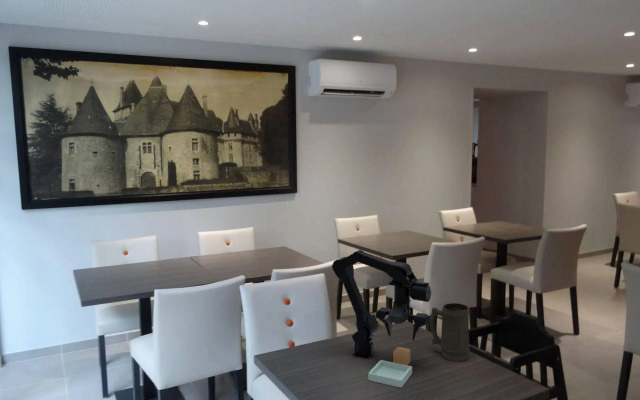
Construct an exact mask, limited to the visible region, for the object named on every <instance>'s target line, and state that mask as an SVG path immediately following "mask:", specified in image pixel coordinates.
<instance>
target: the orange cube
mask: <svg viewBox="0 0 640 400" xmlns="http://www.w3.org/2000/svg"><path fill="white" fill-rule="evenodd" d="M392 353H393V354H392V356H393V357H392V358H393V360H392V362H393V363H398V364H403V365H407V366H409V364H410V363H411V348H406V347H400V346H397V347H396V348H395V349H394V350H393V352H392Z"/></svg>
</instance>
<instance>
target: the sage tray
mask: <svg viewBox="0 0 640 400" xmlns="http://www.w3.org/2000/svg"><path fill="white" fill-rule="evenodd" d="M367 374H368V375H367V380H368V381H369V382H374V383H378V384H379V383H380V384H383V385H388V386H393V387H397V388H401V389H402V388H403V386H404V385H405V384H406V382H407V381H408V379H409V378H410V377H411V375H412V374H413V366H412V365H403V364H398V363H393V361H387V360H383V359H380V360H379V361H378V362H377V363H376V364H375V365H374V367H373V368H372V369H370V371H369V372H368V373H367Z"/></svg>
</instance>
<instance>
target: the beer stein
mask: <svg viewBox="0 0 640 400" xmlns="http://www.w3.org/2000/svg"><path fill="white" fill-rule="evenodd" d="M469 314H470V309H469V307H468V306H467V305H465V304H463V303H456V302H451V303H450V302H449V303H445V304H443V305H442V309H441V310H440V309H439V308H437V307H431V314H430V317H429V321H428V323H429V329H430V331H431V334H432V337H433V338H432V340H431V343H432V345H440V348H441V351H440V355H441V357H442V358H444V359H446V360H448V361H453V362H463V361H468V360H469V359H470V356H471V355H470V337H469V336H470V332H469ZM437 316H441V318H442V319H441V337H440V338H439V336H438V333H437V329H436V317H437Z"/></svg>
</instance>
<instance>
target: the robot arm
mask: <svg viewBox="0 0 640 400" xmlns="http://www.w3.org/2000/svg"><path fill="white" fill-rule="evenodd" d="M358 263H360V264H361V265H364V266H368V267H371V268H373V269H376V270H377V271H378V270H379V271H381V272H383V273H385V274H386V275H388V277H390V278H392V279H391V281H390V282H388V285H390V286H393V287H394V289H393V293H394V294H393V295H394V296H393V298H394V299H393V303H392V307H391V308H389V307H383V306H381V307H380V308H379V309H378V310H377V311H375V313H373V314H371V313H370V312H369V311H368V309H367V307H366V304H365V302H364V299H363V297H362V294H361V292H360V290H359V287H358V284H357V282H356V280H355V269H354V268H355V267H354V265H356V264H358ZM331 268H332V271H333V272H334V274H335V276H336V277H337V278H338V279H339V280H340V282H342V284H343V286H344V290H345V292H346V295H347V297H348V299H349V302H350V304H351V307H352V309H353V311H354V314H355V317H356V318H355V319H356V320H355V326H356V329H357V331H355V332H354V333H353V334H352V335H351V338H352V341H353V342H354V352H353V353H352V356H356V357H360V358H366V359H369V358H370V357H371V356H372V355H373V353H374V352H375V351H374V342H373V338H372V337H374V335H375V334H376V333H377V332H378V329H379V321H380V322H382V323H383V325H384V327H385V329H386V332H387V334H388V337H390V338H391V337H392V324H393V323H395V324H398V325H401V324H403V323H404V322H405V321H413V325H412V327H413V328H412V329H413V331H412V341H413V342H414V341H415V340H416V337H417V335H418V332H419V330H420V328H422V327H424V326H426V325H427V324H428V323H429V320H430V317H429V315H428V314H427V313H424V312H423V313H421V312H417V313H416V314H411V309H410V308H411V302H412V301H411V299H412V300H413V301H418V302H425V303H429V302H430V300H431V298H432V289H431V286H430V282H421V281H419V280H418V278H417V276H416V275H415V274H414V272H413V269H412V267H411V265H410V264H409V263H407V262H402V261H401V262H400V261H391V260H388V259H385V258H381V257H379V256H376V255H374V254H371V253H368V252H365V251H364V250H361V249H359V250H356V251H354V252H353V253H351V254H349V255H348V256H342V257H340V258H338V259H336V260H335V259H334V261H333V262H332V265H331ZM377 319H378V320H379V321H378V320H377Z"/></svg>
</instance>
